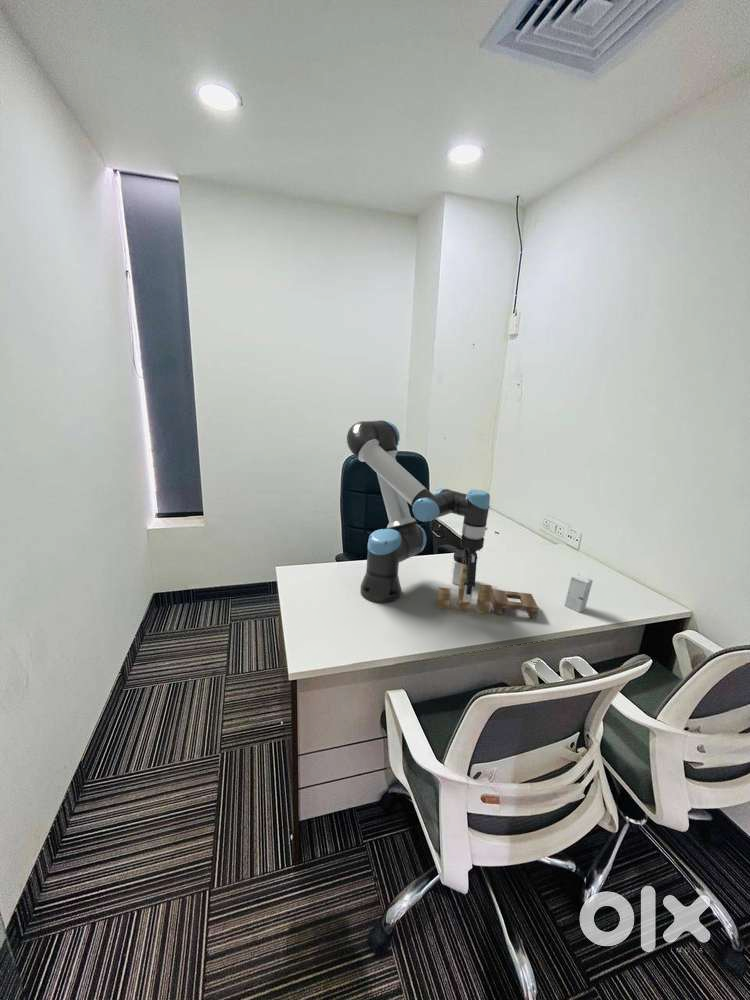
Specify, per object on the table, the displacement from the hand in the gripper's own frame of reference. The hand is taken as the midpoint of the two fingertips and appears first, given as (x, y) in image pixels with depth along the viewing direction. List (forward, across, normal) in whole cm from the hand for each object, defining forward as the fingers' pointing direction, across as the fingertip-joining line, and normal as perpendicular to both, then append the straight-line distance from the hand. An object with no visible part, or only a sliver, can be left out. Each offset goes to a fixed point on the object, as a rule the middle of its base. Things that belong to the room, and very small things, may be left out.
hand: (465, 592), depth 146 cm
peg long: (+6, 0, 0) cm, 6 cm away
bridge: (+6, +3, -18) cm, 19 cm away
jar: (+6, +21, -1) cm, 22 cm away
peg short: (+6, 0, +7) cm, 9 cm away
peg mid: (+6, 0, -7) cm, 9 cm away
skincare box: (+7, +10, -42) cm, 44 cm away
